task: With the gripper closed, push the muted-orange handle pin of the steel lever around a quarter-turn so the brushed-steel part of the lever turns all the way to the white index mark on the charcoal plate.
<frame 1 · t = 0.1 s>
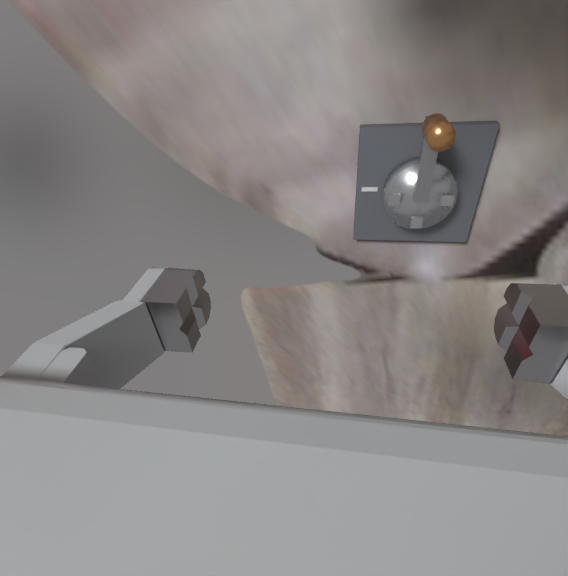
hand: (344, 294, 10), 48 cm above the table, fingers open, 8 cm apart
lever: (425, 180, 48), point 6 cm above the table, hinge at 0.0°
housing plate: (415, 185, 55), on the table
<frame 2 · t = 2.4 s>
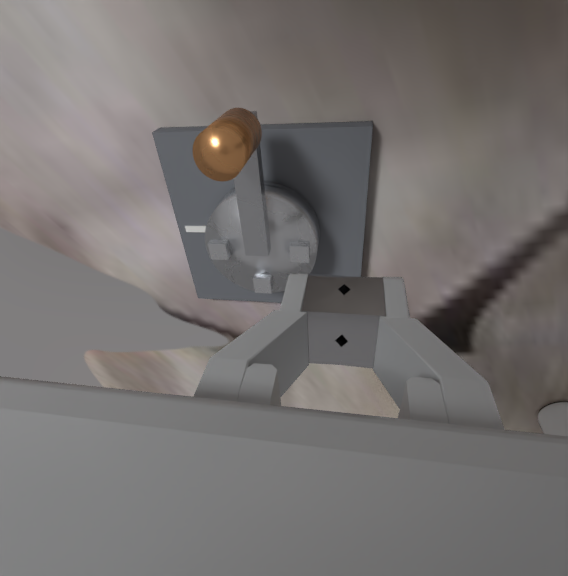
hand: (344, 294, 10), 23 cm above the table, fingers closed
lever: (251, 223, 28), point 6 cm above the table, hinge at 0.0°
housing plate: (270, 222, 35), on the table
drinking glass: (559, 411, 45), on the table
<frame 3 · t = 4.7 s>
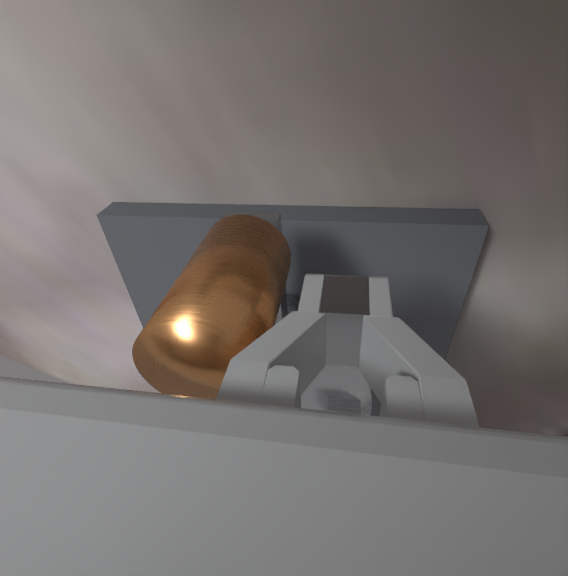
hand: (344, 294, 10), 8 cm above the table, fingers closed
lever: (264, 387, 16), point 6 cm above the table, hinge at 0.3°, touching gripper
housing plate: (289, 336, 23), on the table
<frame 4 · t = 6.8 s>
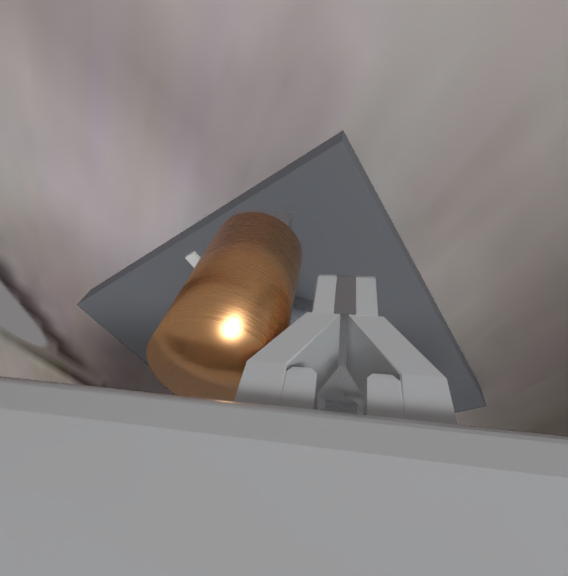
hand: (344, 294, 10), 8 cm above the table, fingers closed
lever: (263, 388, 16), point 6 cm above the table, hinge at 56.2°, touching gripper
housing plate: (285, 337, 23), on the table
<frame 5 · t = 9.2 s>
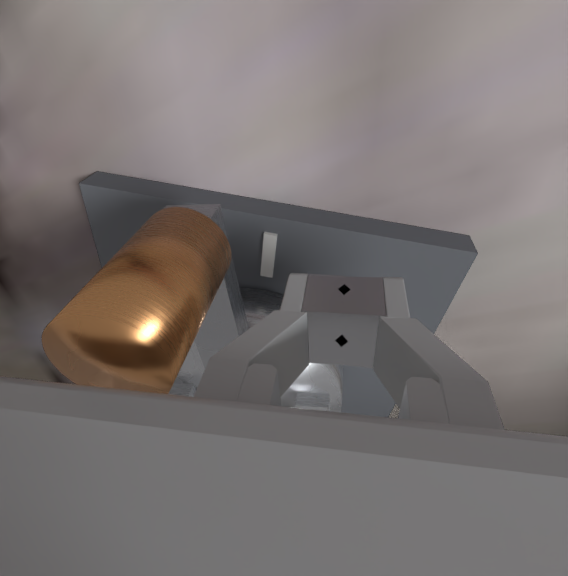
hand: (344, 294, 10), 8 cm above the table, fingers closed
lever: (225, 383, 16), point 6 cm above the table, hinge at 102.4°
housing plate: (264, 332, 23), on the table
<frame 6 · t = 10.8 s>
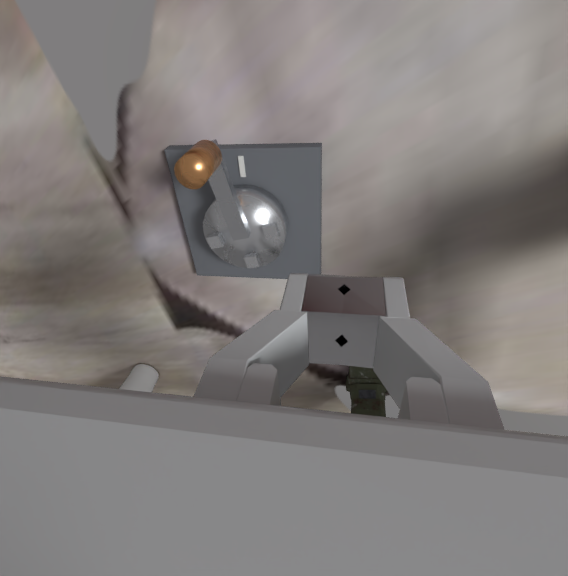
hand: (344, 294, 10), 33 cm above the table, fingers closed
mechanical leg: (366, 371, 63), on the table
lever: (230, 216, 40), point 6 cm above the table, hinge at 102.4°
housing plate: (252, 215, 47), on the table
drinking glass: (147, 370, 72), on the table
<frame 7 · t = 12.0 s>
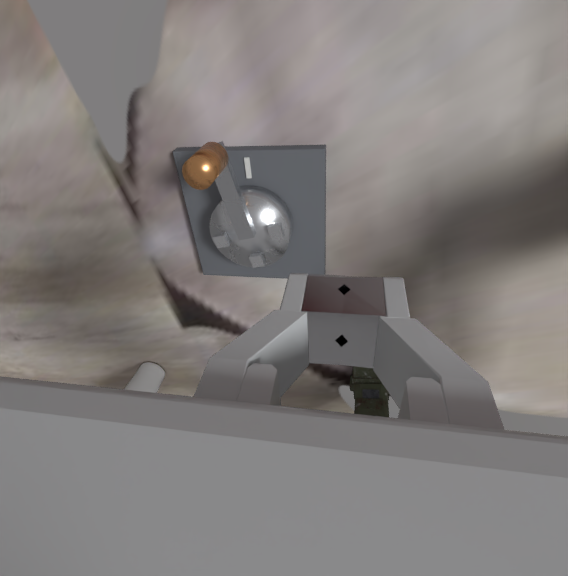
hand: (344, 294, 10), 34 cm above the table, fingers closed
mechanical leg: (370, 371, 63), on the table
lever: (236, 216, 41), point 6 cm above the table, hinge at 102.4°
housing plate: (257, 216, 47), on the table
drinking glass: (154, 368, 73), on the table
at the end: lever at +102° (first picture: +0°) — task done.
